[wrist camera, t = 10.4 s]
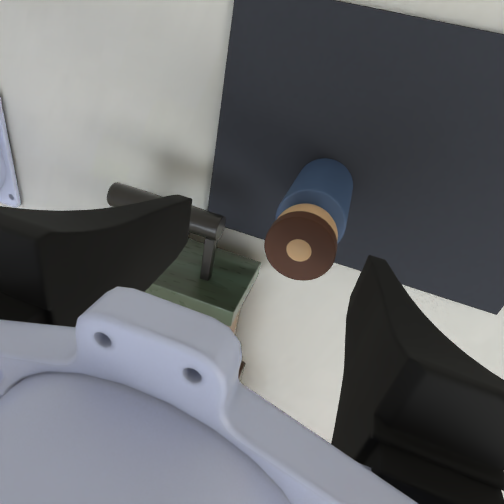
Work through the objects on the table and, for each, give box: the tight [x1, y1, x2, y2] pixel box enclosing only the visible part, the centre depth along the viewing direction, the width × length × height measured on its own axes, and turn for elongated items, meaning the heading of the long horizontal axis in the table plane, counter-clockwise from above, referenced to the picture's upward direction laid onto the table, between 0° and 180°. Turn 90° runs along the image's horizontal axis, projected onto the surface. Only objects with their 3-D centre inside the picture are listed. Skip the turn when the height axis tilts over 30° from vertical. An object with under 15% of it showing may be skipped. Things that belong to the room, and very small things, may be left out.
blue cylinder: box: [264, 158, 353, 280], centre depth 18 cm, size 3×3×8 cm
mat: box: [208, 0, 504, 315], centre depth 20 cm, size 14×20×1 cm
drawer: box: [107, 182, 261, 334], centre depth 26 cm, size 19×11×6 cm, turn 170°
